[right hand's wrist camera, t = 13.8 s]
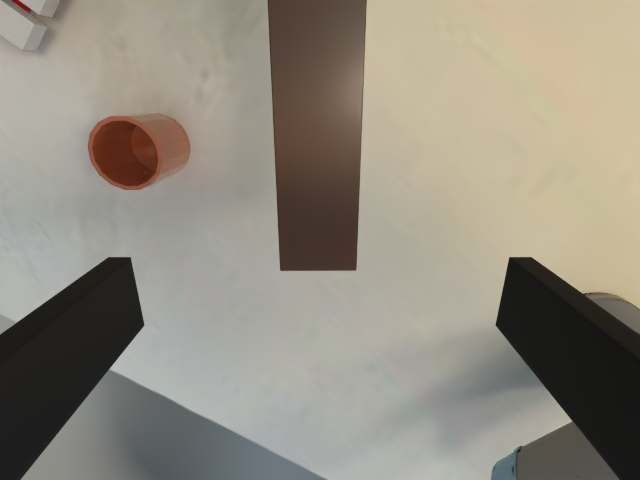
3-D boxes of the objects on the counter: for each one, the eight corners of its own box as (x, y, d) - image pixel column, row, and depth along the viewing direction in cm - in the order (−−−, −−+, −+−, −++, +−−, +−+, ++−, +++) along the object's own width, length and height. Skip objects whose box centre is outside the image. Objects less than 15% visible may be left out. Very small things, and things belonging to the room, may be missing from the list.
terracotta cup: (186, 113, 40) (155, 116, 32) (193, 174, 42) (167, 189, 35) (124, 113, 40) (80, 116, 32) (136, 174, 42) (97, 189, 35)
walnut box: (277, -204, 21) (248, -414, 12) (356, -204, 21) (382, -414, 12) (291, 224, 30) (280, 271, 22) (345, 223, 30) (356, 270, 22)
